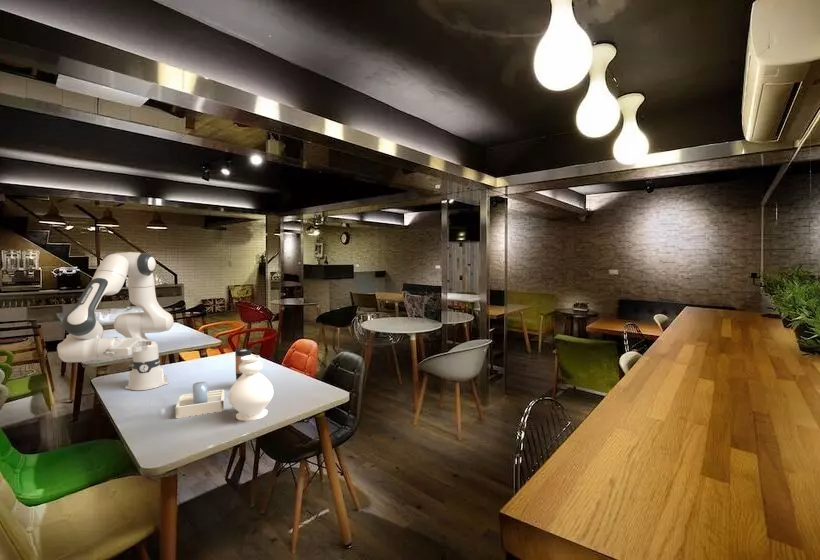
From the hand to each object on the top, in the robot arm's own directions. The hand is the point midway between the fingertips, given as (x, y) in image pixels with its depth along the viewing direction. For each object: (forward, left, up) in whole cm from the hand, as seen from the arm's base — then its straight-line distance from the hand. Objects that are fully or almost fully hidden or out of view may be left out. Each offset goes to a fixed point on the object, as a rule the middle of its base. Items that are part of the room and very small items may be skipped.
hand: (149, 345), depth 162 cm
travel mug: (-18, +37, -30) cm, 51 cm away
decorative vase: (+20, +39, -30) cm, 53 cm away
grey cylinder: (+6, +19, -29) cm, 35 cm away
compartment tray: (+3, +19, -30) cm, 36 cm away
